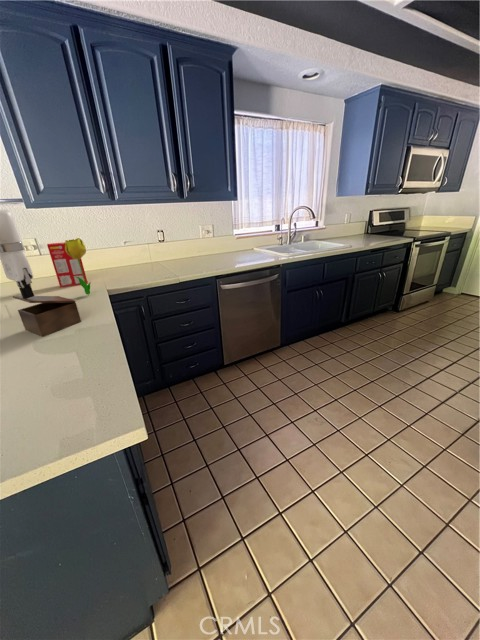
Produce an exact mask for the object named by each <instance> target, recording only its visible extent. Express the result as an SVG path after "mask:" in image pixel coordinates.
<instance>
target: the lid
mask: <svg viewBox="0 0 480 640" xmlns="http://www.w3.org/2000/svg"><path fill="white" fill-rule="evenodd" d="M12 298H13V299H16V300H19V301H22V302H26V303H29V304H40V303H76V300H74V299H71V298H68V297H67V298H66V297H63V296H59V295H34V297H30V298H26V299H25V298H23V297H22V295H13V296H12Z"/></svg>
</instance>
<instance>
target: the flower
mask: <svg viewBox="0 0 480 640" xmlns="http://www.w3.org/2000/svg"><path fill="white" fill-rule="evenodd" d="M64 242H65V251H66V253H67V254H68V255H69V256H71V257H72V258H74V259H78V262H79V265H80V261H79V259H81V260H82V258H83V256H85V255H86V253H87V248H86V246H85V245H86V244H85V243H84V242H83V240H82V239H81V238H79V237H77V238H73V239H66V240H64ZM80 268H81V265H80ZM81 272H82V269H81ZM82 275H83V272H82ZM76 278H78V279H79V282H80V284H81V285H80V286H81V287H82V288H83V291H84V294H85V295H87V296H90V294H91V291H90V290H91V284H92V282H88V284H86V282H85V280H84V281H83V280H82V279H81V278H79V277H76ZM83 278H84V276H83Z"/></svg>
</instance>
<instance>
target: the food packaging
mask: <svg viewBox="0 0 480 640" xmlns="http://www.w3.org/2000/svg"><path fill="white" fill-rule="evenodd" d="M46 246H47V249H48V252H49V255H50V259H51V262H52V266H53V268H54V272H55V275H56V279H57V282H58V285H59V288H67V287H73V286H81V284H80V282H79V279H78V278H76V277H79V278H81V279H82V280H83V281H84V280H85V282H86V284H87V285H88V284H89V282H88V279H87V276H86V272H85V268H84V263H83V259H82V258H81V259H79V261H80V265H81V268H80V265H79V262H78V259H74V258H72V257H71V256H69V255H68V254H67V253H66V251H65V241H64V242H52V243H47V244H46ZM81 269H82V272H83V275H82V272H81ZM83 276H84V278H83Z"/></svg>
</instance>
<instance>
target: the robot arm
mask: <svg viewBox="0 0 480 640" xmlns="http://www.w3.org/2000/svg"><path fill="white" fill-rule="evenodd" d="M25 251H26V250H25V247H24V244H23V241H22V238H21V236H20V233H19V229H18V227H17V224H16V221H15V218H14V215H13V213H12V212H11V211H10V210H7V209H0V262H1V266H2V268H3V271H4V275H5V278H7V279H8V280H10V281H13V282H15V283H16V285H17V287H18V289H19V291H20V295H21V296H22V297H23V298H25V299H26V298H30V297H34V296H35V293H34V291H33V288H32V284H33V281H32V280H33V278H34V273H33V270H32V268H31V265H30V263H29V260H28V258H27V256H26V254H25Z"/></svg>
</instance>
